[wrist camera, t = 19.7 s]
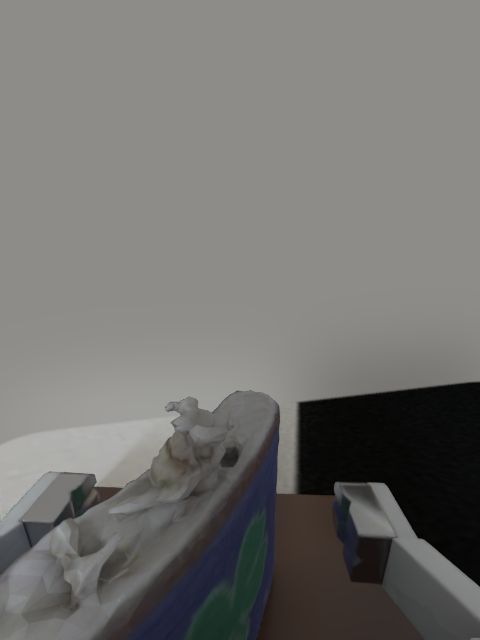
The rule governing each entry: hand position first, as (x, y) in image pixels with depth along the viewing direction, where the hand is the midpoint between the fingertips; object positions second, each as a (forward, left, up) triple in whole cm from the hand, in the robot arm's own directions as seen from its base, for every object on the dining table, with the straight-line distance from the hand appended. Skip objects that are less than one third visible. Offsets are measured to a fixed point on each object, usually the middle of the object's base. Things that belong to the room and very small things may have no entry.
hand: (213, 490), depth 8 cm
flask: (0, +1, -7) cm, 7 cm away
